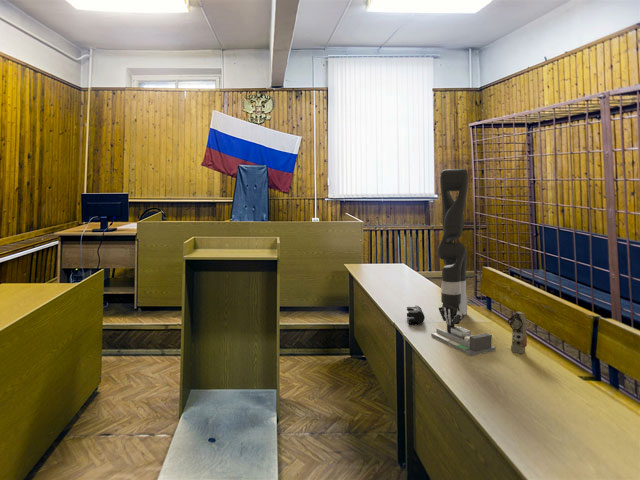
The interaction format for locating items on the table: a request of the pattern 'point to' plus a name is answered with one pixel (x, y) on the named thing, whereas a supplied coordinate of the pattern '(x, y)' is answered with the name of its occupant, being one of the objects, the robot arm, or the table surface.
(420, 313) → the end cap
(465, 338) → the white upright block
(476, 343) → the gauge board
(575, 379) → the table surface
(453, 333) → the grey textured block
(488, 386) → the table surface
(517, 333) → the grenade model
